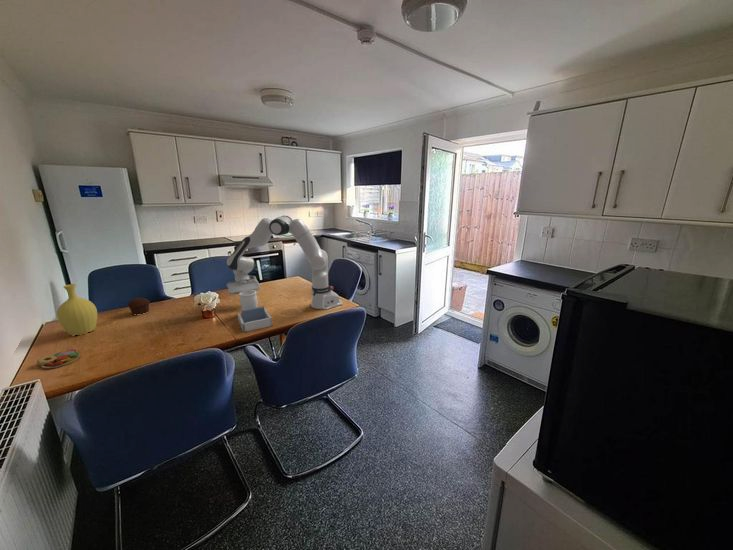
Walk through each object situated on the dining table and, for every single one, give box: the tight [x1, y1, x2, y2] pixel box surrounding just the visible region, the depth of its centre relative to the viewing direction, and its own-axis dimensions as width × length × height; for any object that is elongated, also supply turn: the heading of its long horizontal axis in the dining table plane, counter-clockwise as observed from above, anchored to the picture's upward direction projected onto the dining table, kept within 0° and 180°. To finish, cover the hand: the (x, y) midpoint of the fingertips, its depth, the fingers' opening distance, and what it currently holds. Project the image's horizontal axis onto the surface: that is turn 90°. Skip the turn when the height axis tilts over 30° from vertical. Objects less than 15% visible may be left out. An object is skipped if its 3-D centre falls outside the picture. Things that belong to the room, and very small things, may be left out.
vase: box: [56, 283, 98, 336], centre depth 163 cm, size 16×16×28 cm
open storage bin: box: [237, 307, 273, 333], centre depth 178 cm, size 16×19×5 cm
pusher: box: [240, 305, 265, 323], centre depth 180 cm, size 13×2×8 cm, turn 121°
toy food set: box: [36, 349, 80, 370], centre depth 138 cm, size 13×13×3 cm
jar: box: [238, 290, 258, 310], centre depth 190 cm, size 11×10×15 cm
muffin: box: [127, 297, 151, 315], centre depth 192 cm, size 12×11×10 cm
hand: (246, 297), depth 199 cm, fingers closed
